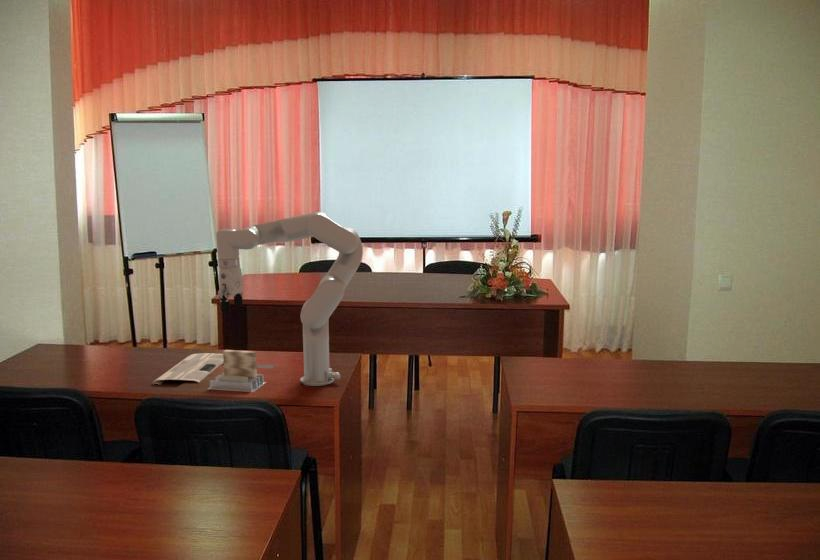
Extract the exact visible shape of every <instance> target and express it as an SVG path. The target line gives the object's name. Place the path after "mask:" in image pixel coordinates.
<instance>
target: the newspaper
mask: <svg viewBox="0 0 820 560" xmlns="http://www.w3.org/2000/svg"><path fill="white" fill-rule="evenodd" d="M222 365H224V358H223V353H212V352H210V353H209V352H206V353H205V352H202V353H192V354H190V355H188V356H186V357H184V359H182V360H180V361H179V362H178V363H177V364H176V365H173V366H172V367H171V368H170V369H169V370H167V371H166V372H164V373H163V374H161V375H160V376H158V377H157V378H156V379H154V380H153V381H152V385H154V384H158V385H162V384H163V383H164V382H163V381H165V380H166V381H169V380H170V381H191V382H197V383H201V382H202V381H203V380H204V379H205V378H206V377H208V376H209V375H210V374H212V372H214V371H215V370H216V369H217V368H218V367H221V366H222ZM166 381H165V382H166ZM162 382H163V383H162ZM161 383H162V384H161Z"/></svg>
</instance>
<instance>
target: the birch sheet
mask: <svg viewBox="0 0 820 560" xmlns="http://www.w3.org/2000/svg"><path fill="white" fill-rule="evenodd" d="M222 354H223V358H224V363H223V372H224V375H228V376H245V377H257V374H258V369H257V365H258V363H257V351H256V350H255V351H253V350H237V349H236V350H233V349H225V350H223V351H222Z"/></svg>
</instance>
